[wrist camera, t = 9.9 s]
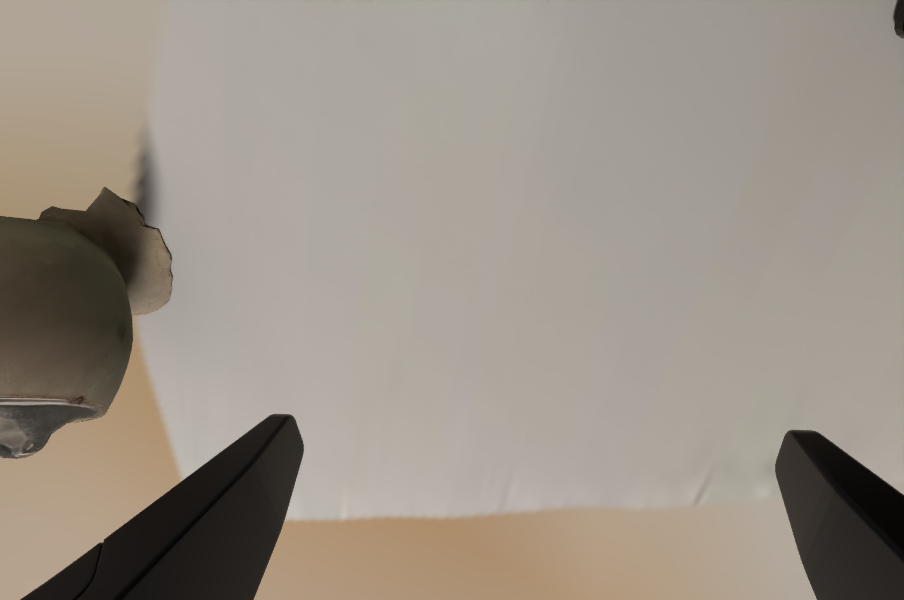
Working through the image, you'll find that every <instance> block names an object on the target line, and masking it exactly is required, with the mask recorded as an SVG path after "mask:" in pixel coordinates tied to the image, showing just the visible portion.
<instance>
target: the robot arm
mask: <svg viewBox="0 0 904 600" xmlns="http://www.w3.org/2000/svg"><path fill="white" fill-rule="evenodd" d="M894 29H895V31H896V34H897V35H898V36H899V37H901V38H904V0H902V2H901V5H900V8H899V11H898V15H897V18H896V21H895V28H894ZM303 452H304V445H303V440H302V438H301V435H300V432H299V429H298V426H297V423H296V420H295V418H294V417H293V416H292V415H290V414H272V415H270V416H269V417H267V418H266V419H264V420H263V421H262V422H260V423H259V424H258V425H256V426H255V427H254V428H252V429H251V430H250V431H248V432H247V433H246V434H244V435H243V436H242V437H240V438H239V439H238V440H236V441H235V442H234V443H232V444H231V445H230V446H228V447H227V448H226V449H224V450H223V451H222V452H220V453H219V454H218V455H216V456H215V457H214V458H212V459H211V460H210V461H208V462H207V463H206V464H204V465H203V466H202V467H200V468H199V469H198V470H196V471H195V472H194V473H192V474H191V475H190V476H188V477H187V478H186V479H184V480H183V481H182V482H180V483H179V484H178V485H176V486H175V487H174V488H172V489H171V490H170V491H168V492H167V493H166V494H164V495H163V496H162V497H160V498H159V499H158V500H156V501H155V502H154V503H152V504H151V505H150V506H148V507H147V508H146V509H144V510H143V511H142V512H140V513H139V514H137V515H136V516H135V517H133V518H132V519H131V520H130V521H128V522H127V523H126V524H124V525H123V526H122V527H120V528H119V529H118V530H116V531H115V532H113V533H112V534H111V535H109V536H108V537H107V538H106V539H104V542H103V543H99V544H97V545H96V546H95V547H93V548H92V549H91V550H89V551H88V552H87V553H85V554H84V555H83V556H81V557H80V558H78V559H77V560H76V561H74V562H73V563H72V564H70V565H69V566H67V567H66V568H65V569H63V570H62V571H61V572H59V573H58V574H56V575H55V576H54V577H52V578H51V579H50V580H48V581H47V582H45V583H44V584H42V585H41V586H39V587H38V588H37V589H35V590H34V591H32V592H31V593H29V594H28V595H26V596H25V597H23V598H22V599H21V600H254V597H255V595H256V592H257V590H258V587H259V584H260V582H261V579H262V577H263V575H264V572H265V569H266V567H267V565H268V562H269V560H270V557H271V554H272V552H273V550H274V547H275V544H276V542H277V539H278V537H279V534H280V532H281V529H282V526H283V523H284V520H285V517H286V513H287V510H288V506H289V503H290V499H291V496H292V492H293V489H294V485H295V482H296V478H297V475H298V471H299V468H300V464H301V460H302V457H303ZM775 472H776V477H777V481H778V484H779V487H780V491H781V494H782V498H783V501H784V504H785V507H786V511H787V514H788V518H789V521H790V524H791V528H792V531H793V535H794V538H795V541H796V545H797V548H798V551H799V554H800V558H801V561H802V564H803V566H804V569H805V571H806V574H807V577H808V579H809V581H810V584H811V586H812V589H813V591H814V593H815V596H816V598H817V600H904V495H903V494H902V493H900V492H899V491H898V490H896V489H895V488H894V487H892V486H891V485H889V484H888V483H887V482H885V481H884V480H883V479H881V478H880V477H879V476H877V475H876V474H874V473H873V472H872V471H870V470H869V469H868V468H866V467H865V466H864V465H862V464H861V463H859V462H858V461H857V460H855V459H854V458H853V457H851V456H850V455H849V454H847V453H846V452H844V451H843V450H842V449H840V448H839V447H838V446H836V445H835V444H834V443H832V442H831V441H829V440H828V439H827V438H825V437H824V436H823V435H821V434H820V433H818V432H816V431H812V430H790V431H788V432H787V433H786V434H785V436H784V439H783V442H782V445H781V448H780V451H779V454H778V457H777V460H776V464H775Z"/></svg>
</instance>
